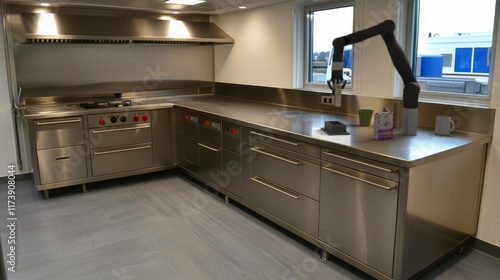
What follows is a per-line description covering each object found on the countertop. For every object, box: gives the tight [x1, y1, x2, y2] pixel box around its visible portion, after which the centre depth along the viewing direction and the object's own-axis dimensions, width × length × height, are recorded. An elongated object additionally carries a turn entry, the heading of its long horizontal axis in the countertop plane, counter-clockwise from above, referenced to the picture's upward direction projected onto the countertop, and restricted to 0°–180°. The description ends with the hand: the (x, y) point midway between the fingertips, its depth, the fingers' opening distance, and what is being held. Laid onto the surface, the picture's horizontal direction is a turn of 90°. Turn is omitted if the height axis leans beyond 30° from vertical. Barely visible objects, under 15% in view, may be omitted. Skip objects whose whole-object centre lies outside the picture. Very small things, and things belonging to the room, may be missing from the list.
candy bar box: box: [372, 111, 394, 141], centre depth 242 cm, size 11×5×16 cm, turn 114°
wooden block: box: [382, 101, 400, 129], centre depth 280 cm, size 4×11×18 cm, turn 44°
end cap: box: [320, 120, 352, 136], centre depth 266 cm, size 22×14×6 cm, turn 5°
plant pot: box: [357, 108, 375, 127], centre depth 286 cm, size 12×12×11 cm
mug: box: [434, 115, 456, 136], centre depth 254 cm, size 12×8×11 cm
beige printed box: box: [331, 83, 343, 108], centre depth 260 cm, size 10×3×14 cm, turn 5°
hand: (336, 95), depth 261 cm, fingers closed on beige printed box, 3 cm apart
